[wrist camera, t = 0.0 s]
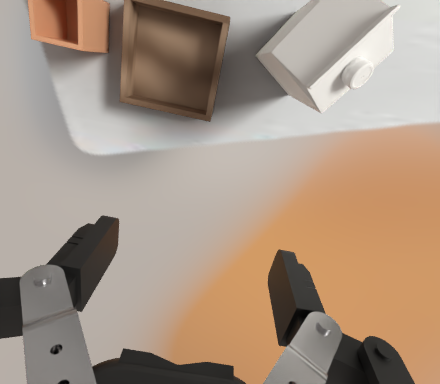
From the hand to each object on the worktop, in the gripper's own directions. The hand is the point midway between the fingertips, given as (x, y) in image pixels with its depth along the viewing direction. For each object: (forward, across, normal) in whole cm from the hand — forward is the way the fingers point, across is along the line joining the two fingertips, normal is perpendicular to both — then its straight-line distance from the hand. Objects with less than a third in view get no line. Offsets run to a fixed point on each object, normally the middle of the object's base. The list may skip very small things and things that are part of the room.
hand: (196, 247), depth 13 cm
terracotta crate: (+29, +19, -9) cm, 36 cm away
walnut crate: (+29, +7, -7) cm, 31 cm away
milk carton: (+30, -8, -11) cm, 32 cm away
